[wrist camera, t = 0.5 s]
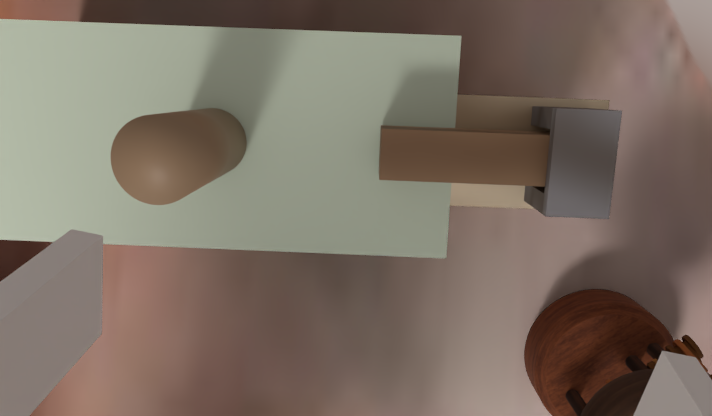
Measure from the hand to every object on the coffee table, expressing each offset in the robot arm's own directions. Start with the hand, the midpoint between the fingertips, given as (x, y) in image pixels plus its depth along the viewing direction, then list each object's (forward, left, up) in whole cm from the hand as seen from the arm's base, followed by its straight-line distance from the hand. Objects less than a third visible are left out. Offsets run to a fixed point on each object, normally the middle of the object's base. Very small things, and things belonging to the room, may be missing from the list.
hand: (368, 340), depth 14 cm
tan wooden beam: (+3, -5, -19) cm, 20 cm away
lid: (+3, +9, -21) cm, 23 cm away
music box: (-14, -17, -31) cm, 39 cm away
